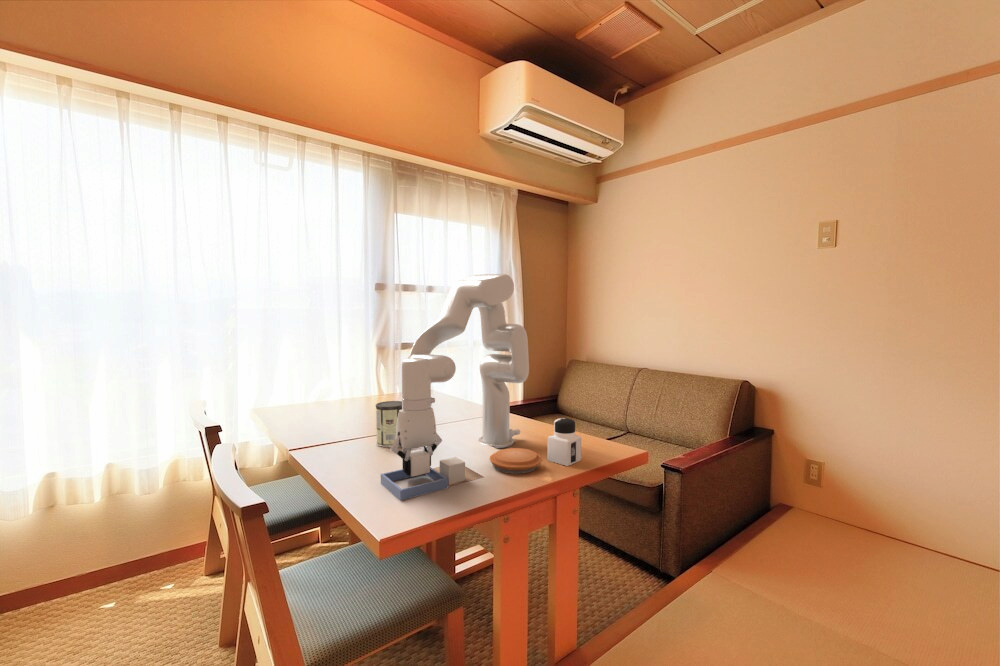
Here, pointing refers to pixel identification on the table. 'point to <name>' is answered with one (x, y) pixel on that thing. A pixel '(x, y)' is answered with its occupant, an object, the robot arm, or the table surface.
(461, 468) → the pale white cube
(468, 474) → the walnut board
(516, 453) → the pie
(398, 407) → the coffee can
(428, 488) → the rectangular frame
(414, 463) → the white block
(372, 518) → the table surface
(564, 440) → the container
